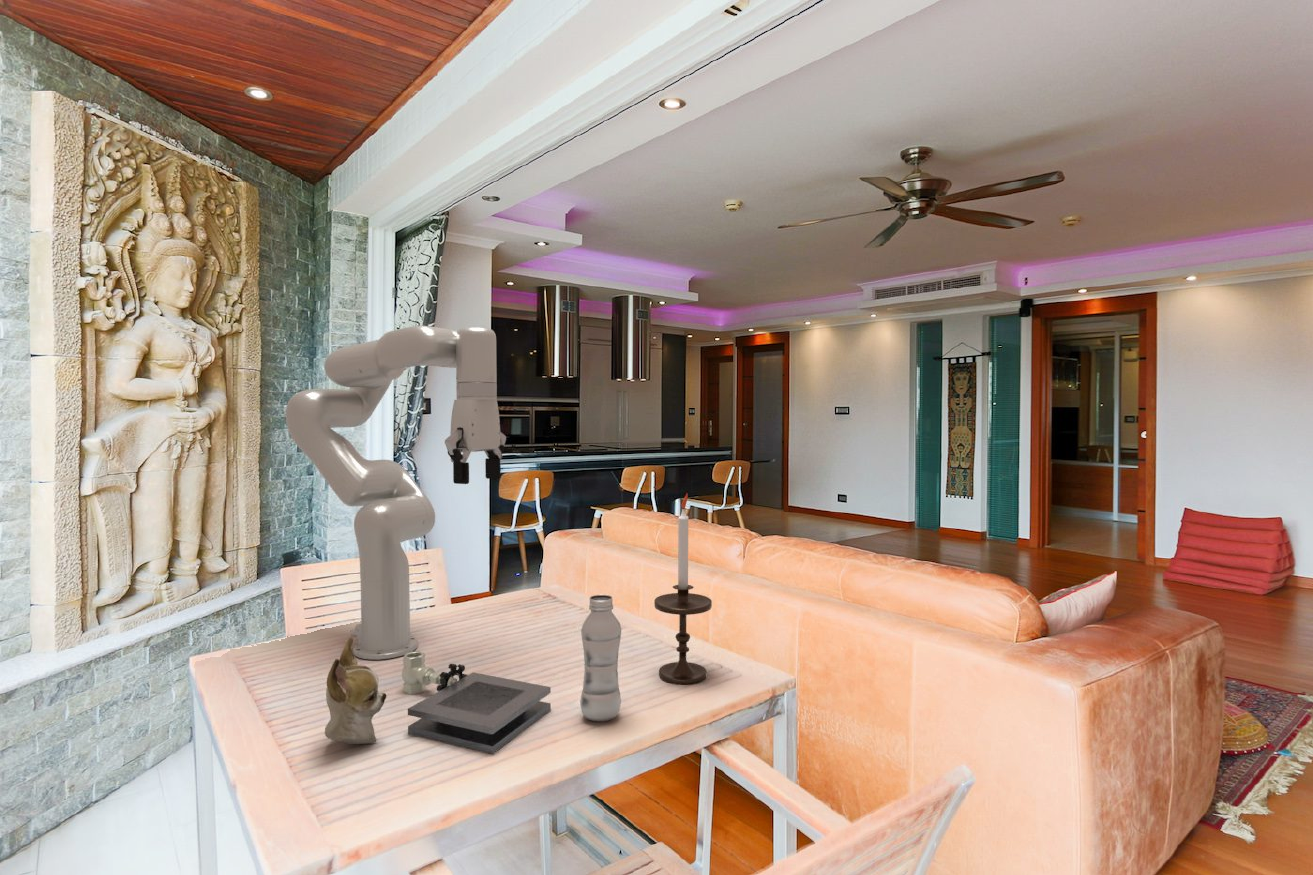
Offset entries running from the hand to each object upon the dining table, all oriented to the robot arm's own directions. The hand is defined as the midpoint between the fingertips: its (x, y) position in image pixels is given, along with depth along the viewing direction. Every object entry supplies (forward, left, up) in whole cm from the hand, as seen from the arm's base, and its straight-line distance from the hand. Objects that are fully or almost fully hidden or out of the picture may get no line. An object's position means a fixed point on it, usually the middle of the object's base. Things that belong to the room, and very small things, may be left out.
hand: (477, 481), depth 133 cm
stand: (+15, -19, -37) cm, 44 cm away
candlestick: (+38, +12, -37) cm, 54 cm away
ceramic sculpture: (+2, -33, -37) cm, 49 cm away
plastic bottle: (+32, -10, -37) cm, 50 cm away
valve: (0, -14, -37) cm, 40 cm away
